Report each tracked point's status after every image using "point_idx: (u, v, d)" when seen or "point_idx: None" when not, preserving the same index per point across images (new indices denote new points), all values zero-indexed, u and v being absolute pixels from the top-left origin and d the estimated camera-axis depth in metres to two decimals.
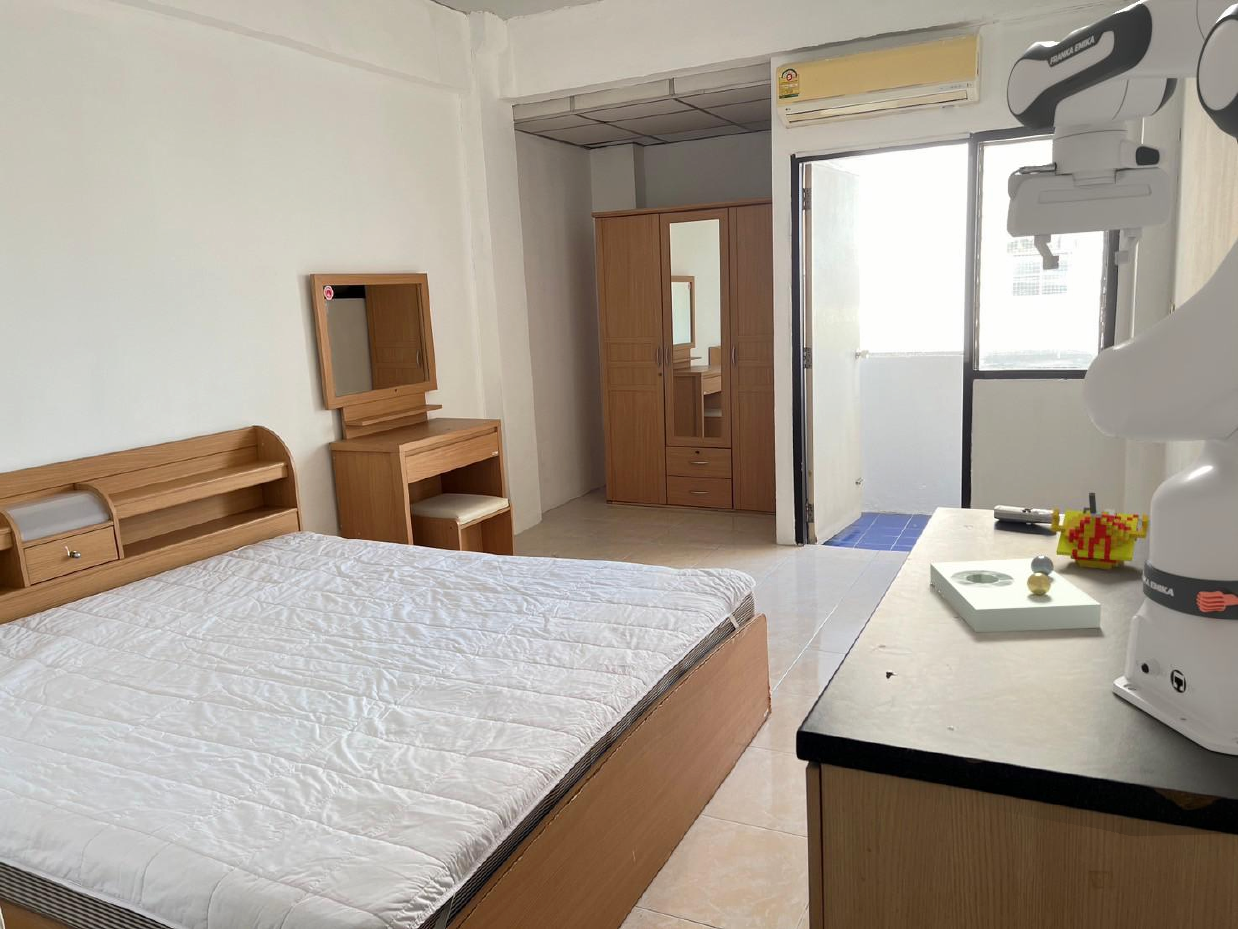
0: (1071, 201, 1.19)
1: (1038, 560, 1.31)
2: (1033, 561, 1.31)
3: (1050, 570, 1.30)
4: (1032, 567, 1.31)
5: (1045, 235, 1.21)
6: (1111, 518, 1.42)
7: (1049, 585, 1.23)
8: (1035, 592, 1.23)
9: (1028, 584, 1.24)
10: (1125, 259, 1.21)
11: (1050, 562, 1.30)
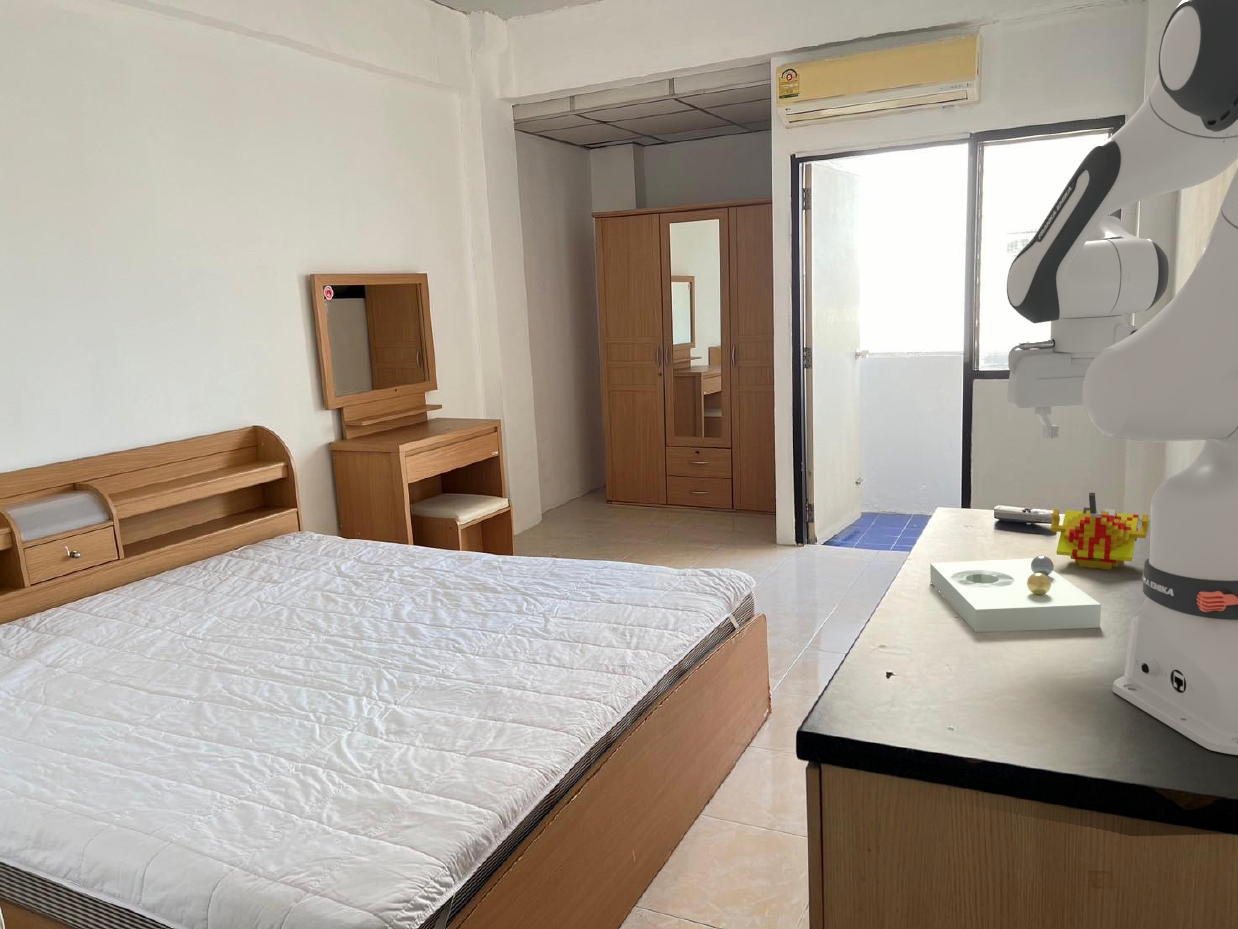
0: (1068, 377, 1.25)
1: (1038, 560, 1.31)
2: (1033, 561, 1.31)
3: (1050, 570, 1.30)
4: (1032, 567, 1.31)
5: (1045, 407, 1.27)
6: (1111, 518, 1.42)
7: (1049, 585, 1.23)
8: (1035, 592, 1.23)
9: (1028, 584, 1.24)
10: None
11: (1050, 562, 1.30)
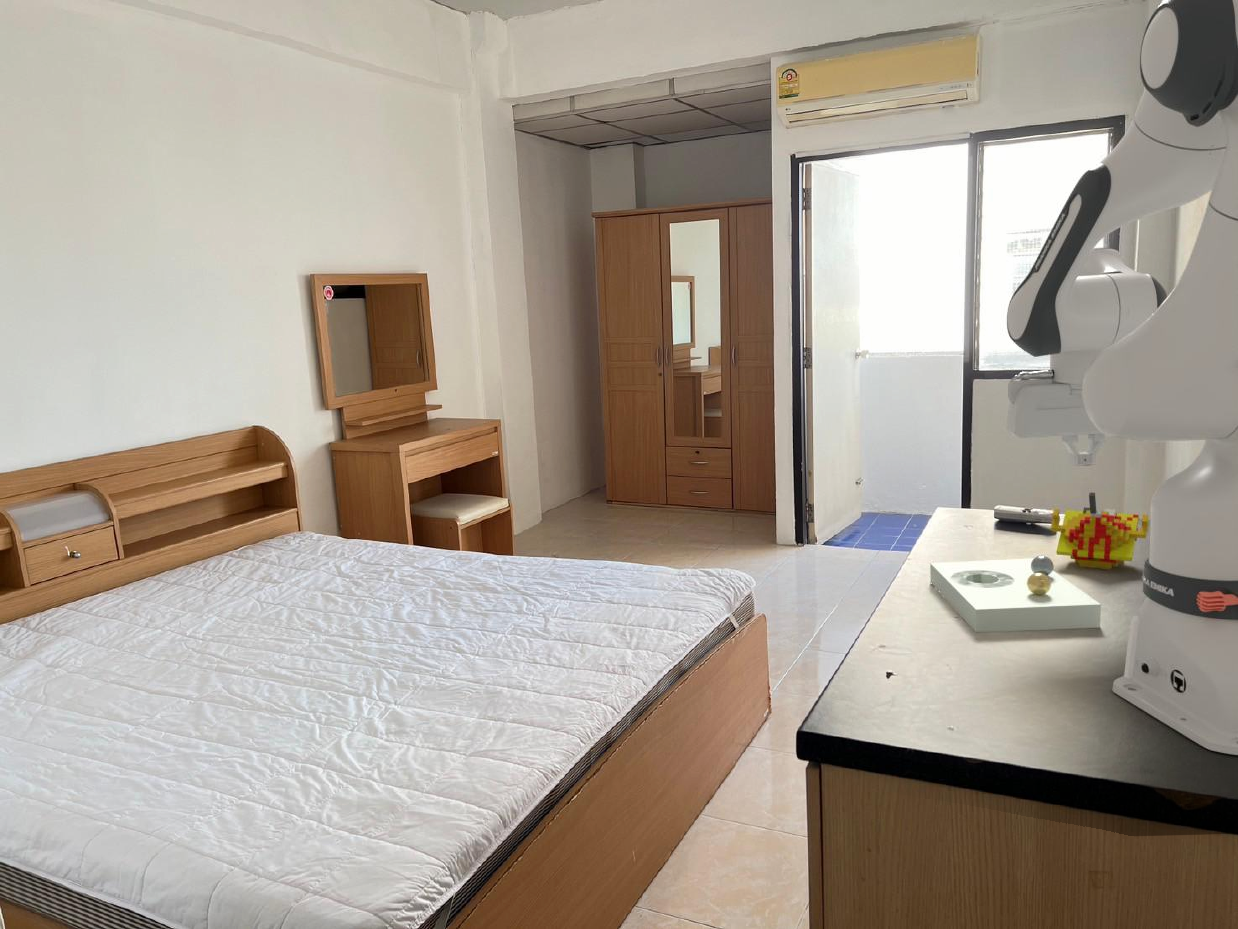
0: (1068, 408, 1.26)
1: (1038, 560, 1.31)
2: (1033, 561, 1.31)
3: (1050, 570, 1.30)
4: (1032, 567, 1.31)
5: (1072, 436, 1.27)
6: (1111, 518, 1.42)
7: (1049, 585, 1.23)
8: (1035, 592, 1.23)
9: (1028, 584, 1.24)
10: (1089, 461, 1.28)
11: (1050, 562, 1.30)
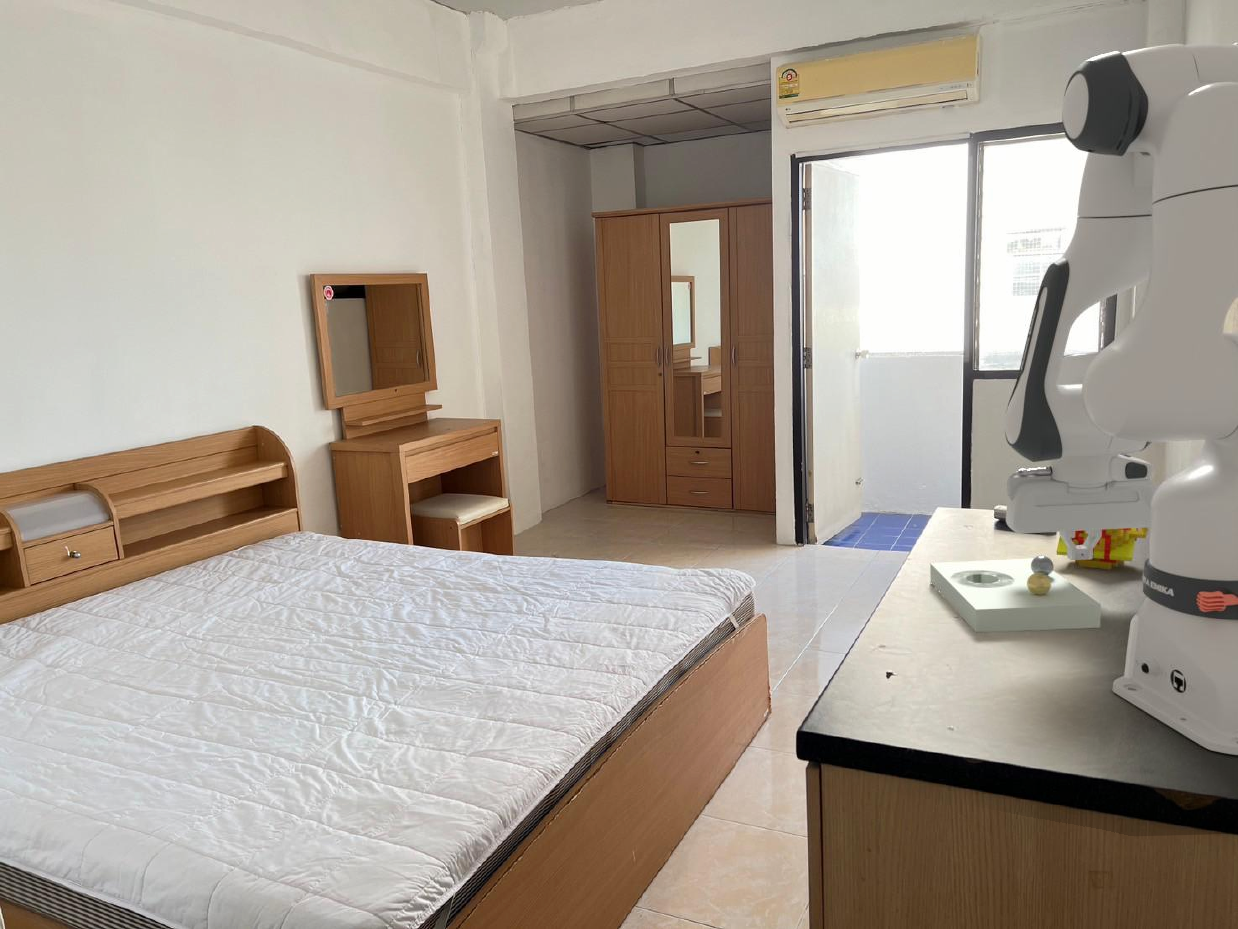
0: (1065, 505, 1.28)
1: (1038, 560, 1.31)
2: (1033, 561, 1.31)
3: (1050, 570, 1.30)
4: (1032, 567, 1.31)
5: (1070, 531, 1.30)
6: None
7: (1049, 585, 1.23)
8: (1035, 592, 1.23)
9: (1028, 584, 1.24)
10: (1086, 556, 1.31)
11: (1050, 562, 1.30)
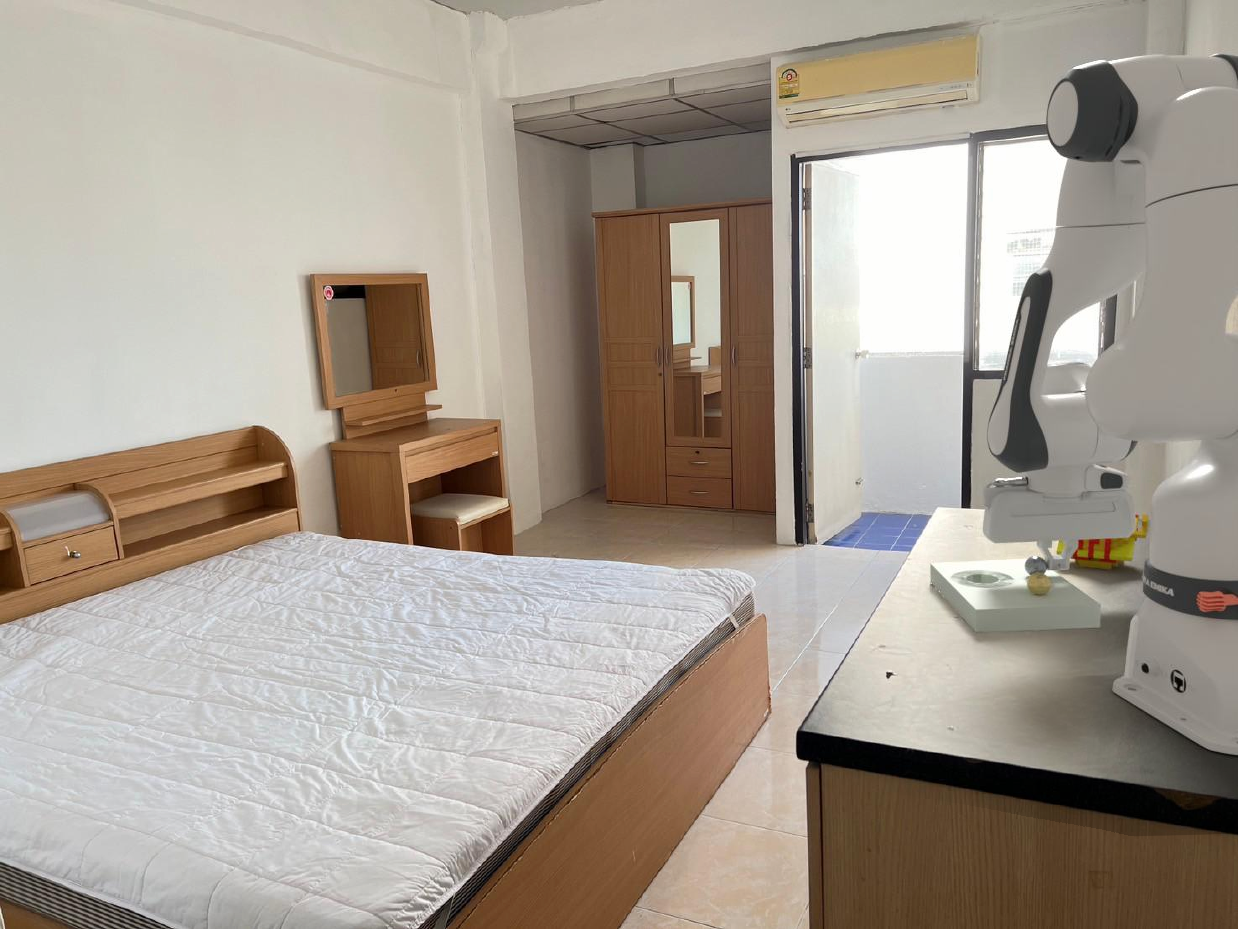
0: (1041, 515, 1.29)
1: (1029, 565, 1.31)
2: (1025, 567, 1.32)
3: (1044, 567, 1.30)
4: (1028, 572, 1.32)
5: (1046, 541, 1.30)
6: None
7: (1049, 585, 1.23)
8: (1035, 592, 1.23)
9: (1028, 584, 1.24)
10: (1063, 566, 1.31)
11: (1040, 560, 1.31)
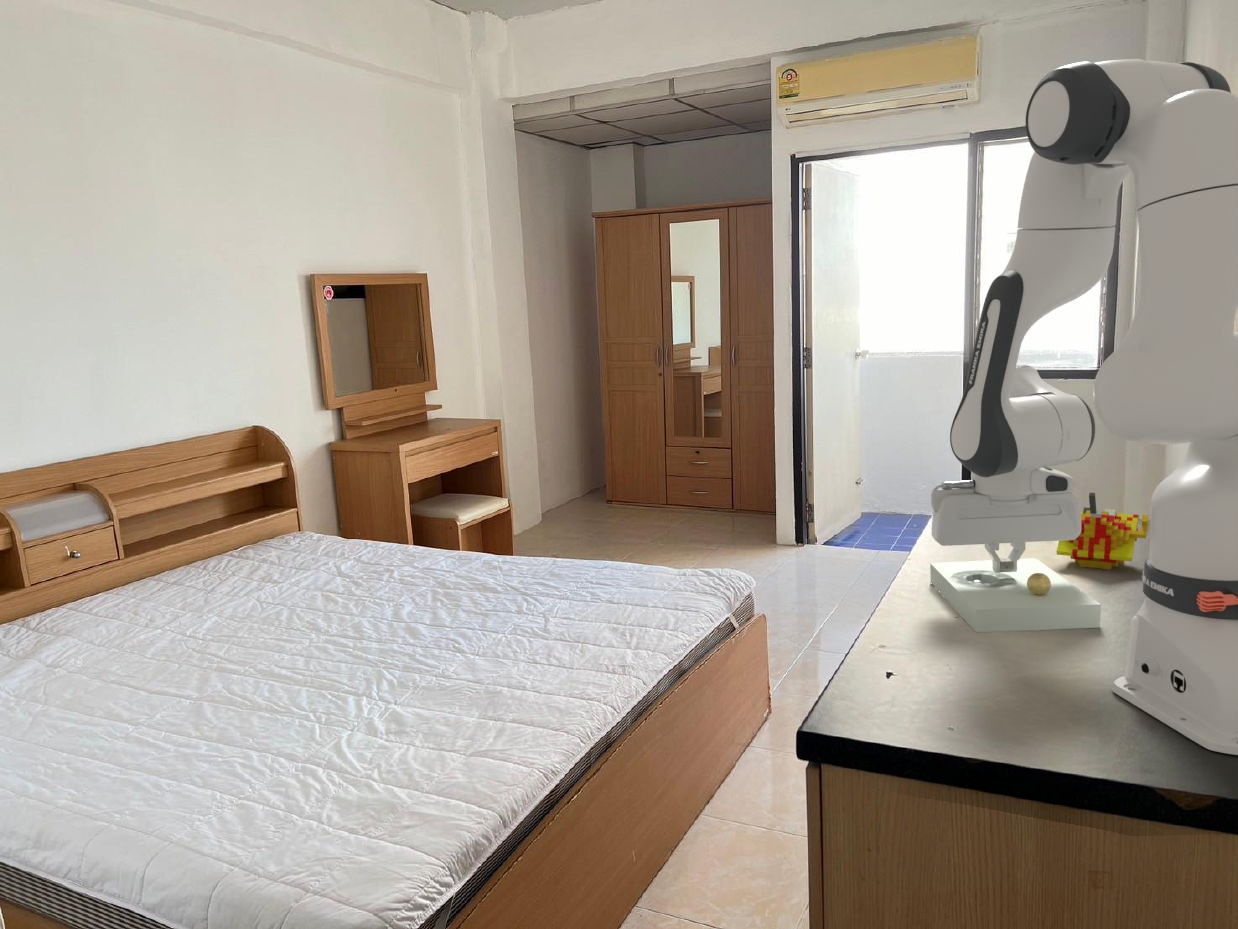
0: (988, 517, 1.29)
1: None
2: None
3: None
4: None
5: (994, 544, 1.30)
6: (1111, 518, 1.42)
7: (1049, 585, 1.23)
8: (1035, 592, 1.23)
9: (1028, 584, 1.24)
10: (1011, 568, 1.31)
11: None
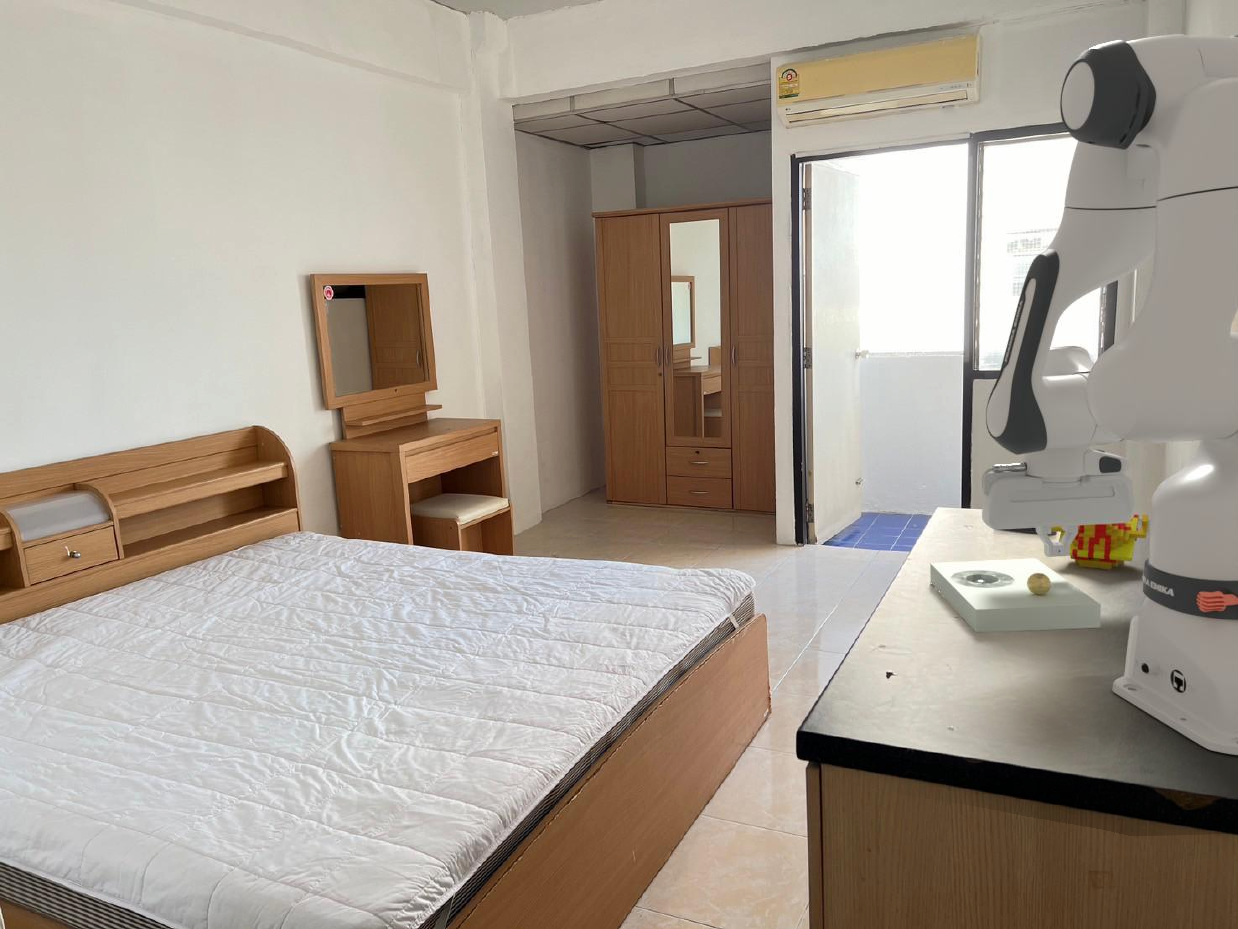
0: (1041, 500, 1.28)
1: None
2: None
3: None
4: None
5: (1046, 527, 1.29)
6: None
7: (1049, 585, 1.23)
8: (1035, 592, 1.23)
9: (1028, 584, 1.24)
10: (1063, 552, 1.30)
11: None
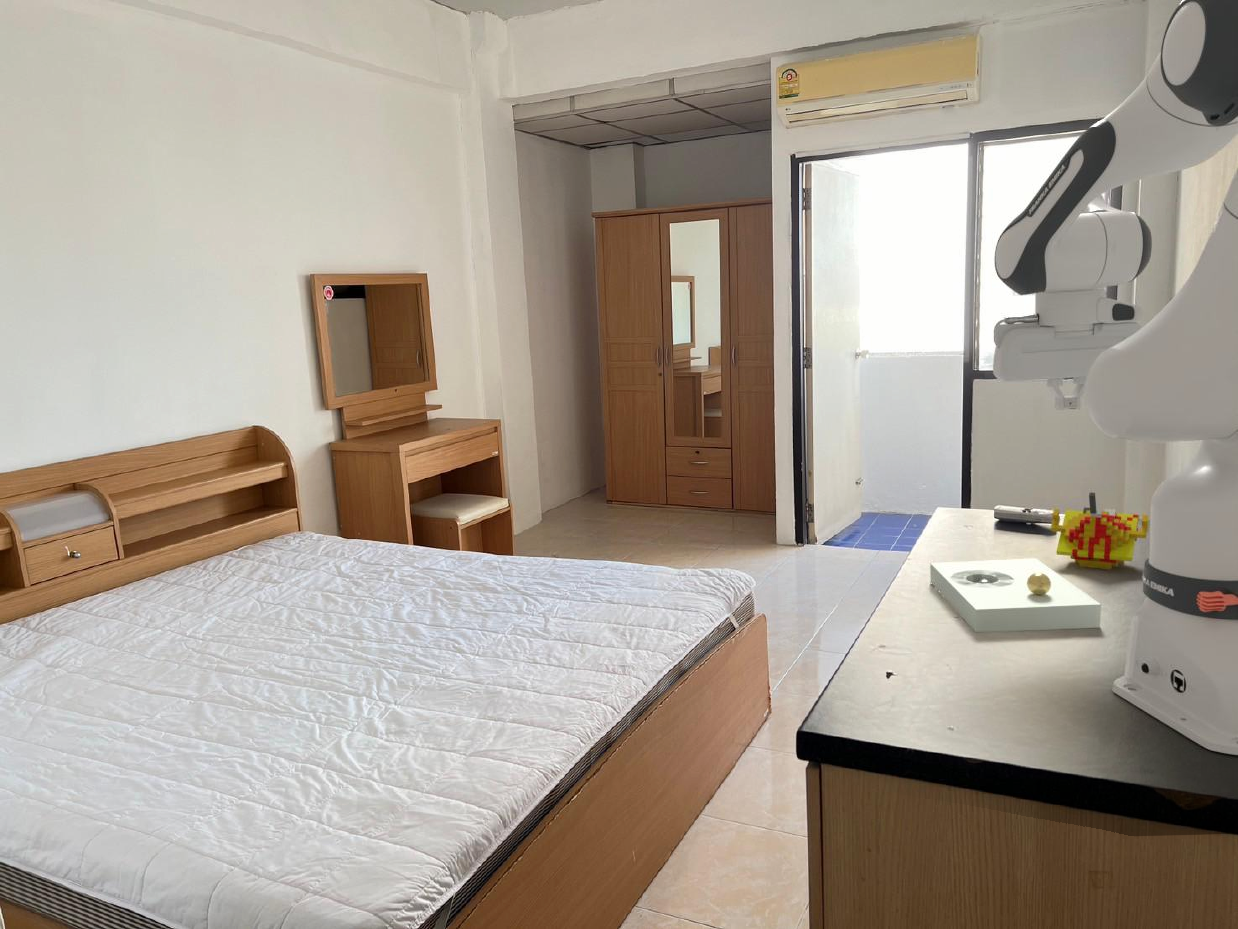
0: (1052, 351, 1.28)
1: (982, 583, 1.32)
2: None
3: None
4: None
5: (1057, 379, 1.29)
6: (1111, 518, 1.42)
7: (1049, 585, 1.23)
8: (1035, 592, 1.23)
9: (1028, 584, 1.24)
10: (1074, 405, 1.29)
11: None
